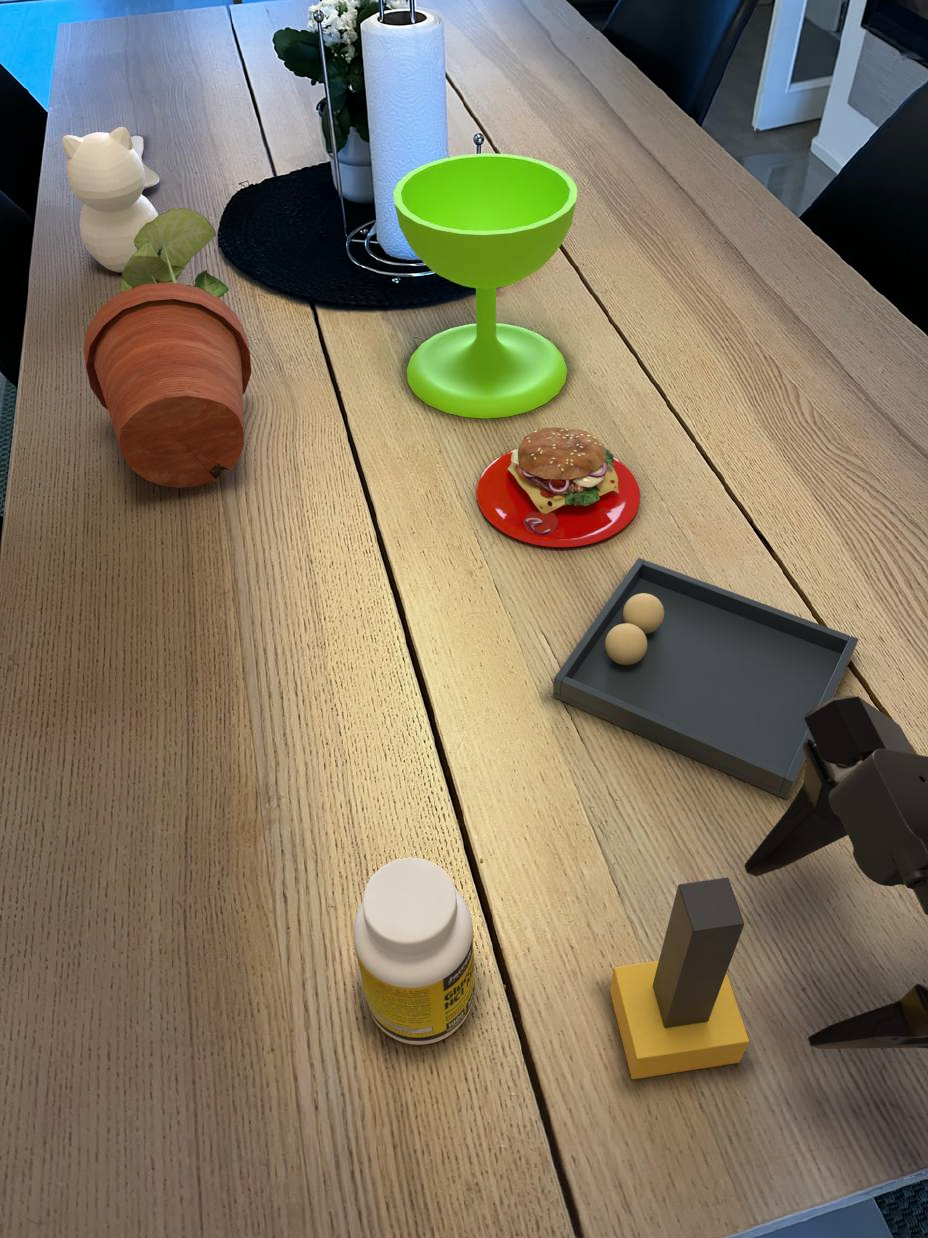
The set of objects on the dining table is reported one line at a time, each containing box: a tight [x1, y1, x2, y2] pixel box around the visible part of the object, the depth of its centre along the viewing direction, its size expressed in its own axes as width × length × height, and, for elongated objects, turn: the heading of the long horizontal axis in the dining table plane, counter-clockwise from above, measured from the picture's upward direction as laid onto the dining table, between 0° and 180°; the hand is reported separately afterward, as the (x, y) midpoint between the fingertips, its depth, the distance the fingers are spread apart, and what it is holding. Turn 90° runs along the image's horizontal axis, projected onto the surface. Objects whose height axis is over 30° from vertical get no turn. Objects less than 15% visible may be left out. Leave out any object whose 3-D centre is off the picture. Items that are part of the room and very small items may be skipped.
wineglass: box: [392, 152, 579, 420], centre depth 95 cm, size 16×16×18 cm
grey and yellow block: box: [609, 876, 750, 1080], centre depth 52 cm, size 6×5×14 cm
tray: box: [552, 557, 859, 800], centre depth 73 cm, size 17×14×2 cm
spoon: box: [131, 135, 160, 190], centre depth 136 cm, size 4×21×2 cm, turn 17°
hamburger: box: [476, 426, 641, 548], centre depth 86 cm, size 14×14×6 cm
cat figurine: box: [61, 126, 159, 273], centre depth 114 cm, size 9×12×15 cm
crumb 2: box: [605, 623, 647, 665], centre depth 73 cm, size 3×3×3 cm
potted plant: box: [83, 207, 252, 489], centre depth 95 cm, size 16×15×35 cm
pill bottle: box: [352, 857, 476, 1046], centre depth 54 cm, size 6×6×11 cm
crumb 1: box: [623, 593, 664, 634], centre depth 75 cm, size 3×3×3 cm
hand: (779, 952), depth 51 cm, fingers open, 9 cm apart
